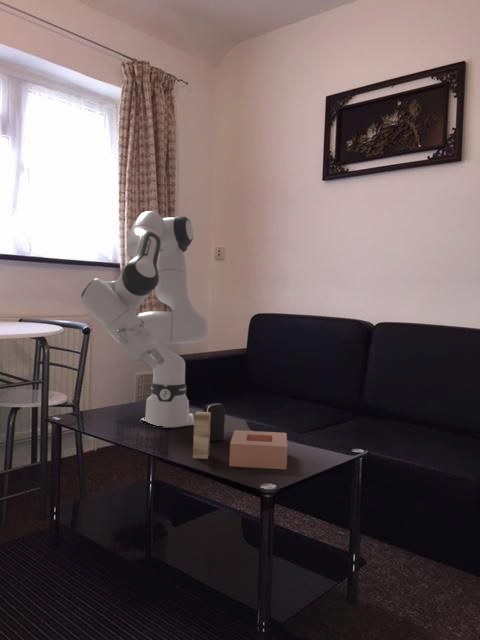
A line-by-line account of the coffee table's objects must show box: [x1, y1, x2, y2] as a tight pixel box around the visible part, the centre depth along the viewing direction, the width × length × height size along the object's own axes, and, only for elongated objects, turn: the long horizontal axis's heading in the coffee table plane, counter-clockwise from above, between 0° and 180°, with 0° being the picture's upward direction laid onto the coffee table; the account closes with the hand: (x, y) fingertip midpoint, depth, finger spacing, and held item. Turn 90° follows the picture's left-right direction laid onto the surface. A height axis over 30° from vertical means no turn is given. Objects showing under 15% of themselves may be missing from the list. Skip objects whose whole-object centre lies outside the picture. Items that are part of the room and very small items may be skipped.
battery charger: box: [202, 402, 226, 443], centre depth 167 cm, size 7×4×11 cm, turn 134°
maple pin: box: [192, 411, 211, 460], centre depth 149 cm, size 4×4×12 cm
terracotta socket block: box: [228, 429, 288, 470], centre depth 148 cm, size 15×15×6 cm
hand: (159, 364), depth 149 cm, fingers open, 8 cm apart
